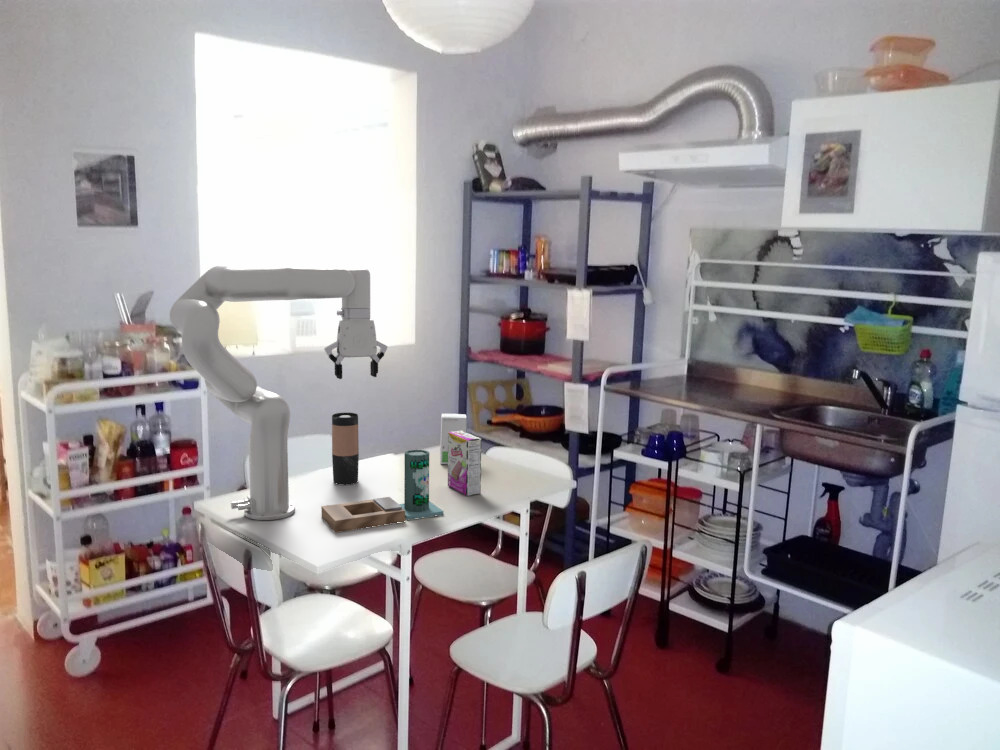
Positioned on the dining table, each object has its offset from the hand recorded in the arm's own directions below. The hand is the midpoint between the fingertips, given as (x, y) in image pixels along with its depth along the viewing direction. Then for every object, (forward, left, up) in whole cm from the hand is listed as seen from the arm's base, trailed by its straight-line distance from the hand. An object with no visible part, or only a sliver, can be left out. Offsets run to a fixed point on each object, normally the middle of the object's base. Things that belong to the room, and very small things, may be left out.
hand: (356, 377), depth 214 cm
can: (+10, -20, -32) cm, 39 cm away
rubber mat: (+10, -20, -33) cm, 40 cm away
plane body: (-5, -20, -33) cm, 39 cm away
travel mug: (+1, +14, -34) cm, 36 cm away
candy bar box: (+29, -8, -34) cm, 45 cm away
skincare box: (+39, +21, -34) cm, 56 cm away
